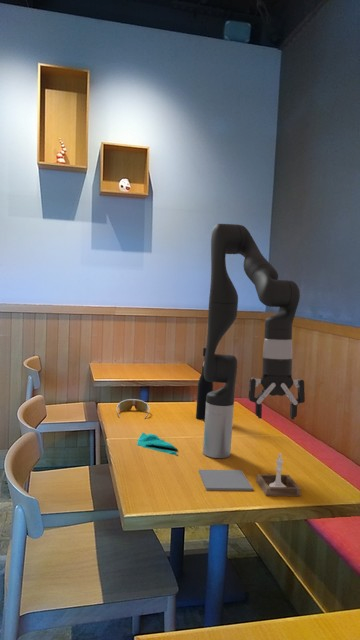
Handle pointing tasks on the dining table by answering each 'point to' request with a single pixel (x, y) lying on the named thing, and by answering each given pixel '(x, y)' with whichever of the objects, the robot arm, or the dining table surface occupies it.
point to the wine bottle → (202, 393)
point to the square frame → (278, 491)
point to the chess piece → (278, 473)
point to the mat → (225, 480)
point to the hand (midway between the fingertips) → (275, 418)
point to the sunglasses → (133, 402)
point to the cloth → (155, 443)
